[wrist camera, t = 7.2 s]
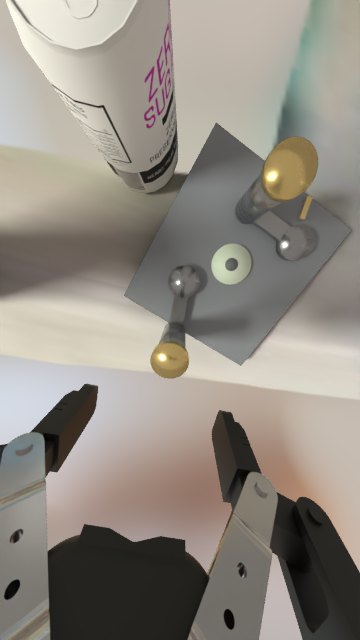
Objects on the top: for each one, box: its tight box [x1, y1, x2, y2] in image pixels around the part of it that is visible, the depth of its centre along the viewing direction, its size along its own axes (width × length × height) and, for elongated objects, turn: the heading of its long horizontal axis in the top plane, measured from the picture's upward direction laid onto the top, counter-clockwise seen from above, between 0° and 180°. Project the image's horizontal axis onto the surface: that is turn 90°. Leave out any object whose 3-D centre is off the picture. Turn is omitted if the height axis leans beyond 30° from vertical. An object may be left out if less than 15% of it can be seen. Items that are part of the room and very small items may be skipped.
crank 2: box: [235, 137, 318, 261], centre depth 17 cm, size 11×4×9 cm, turn 58°
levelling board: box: [124, 123, 352, 366], centre depth 24 cm, size 20×22×2 cm
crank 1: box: [151, 266, 200, 378], centre depth 20 cm, size 11×4×9 cm, turn 170°
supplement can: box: [6, 0, 178, 193], centre depth 15 cm, size 8×8×15 cm
